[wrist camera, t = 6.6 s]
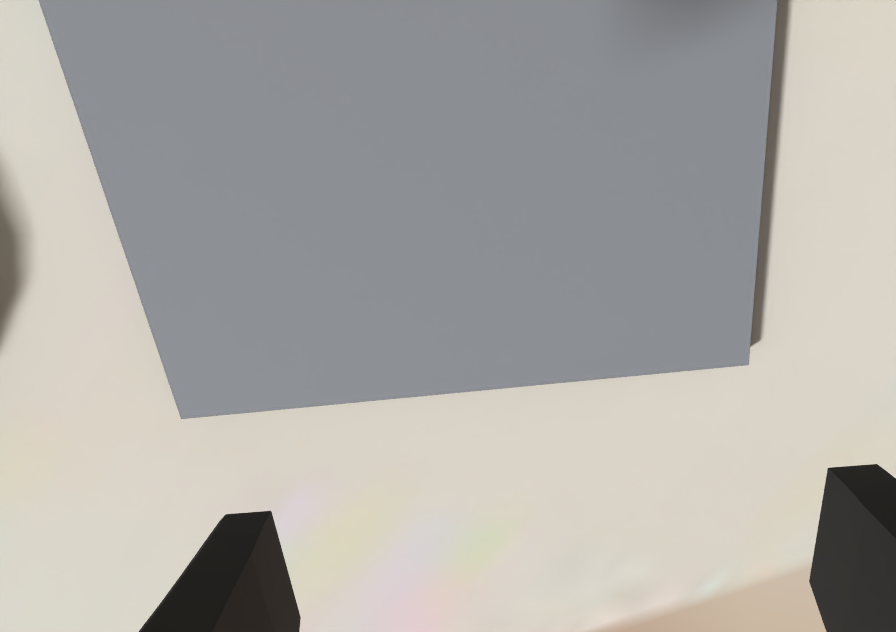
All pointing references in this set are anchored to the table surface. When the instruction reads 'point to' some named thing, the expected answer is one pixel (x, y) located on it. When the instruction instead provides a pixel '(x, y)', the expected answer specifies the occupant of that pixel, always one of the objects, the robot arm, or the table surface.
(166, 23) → the T board
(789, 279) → the table surface
